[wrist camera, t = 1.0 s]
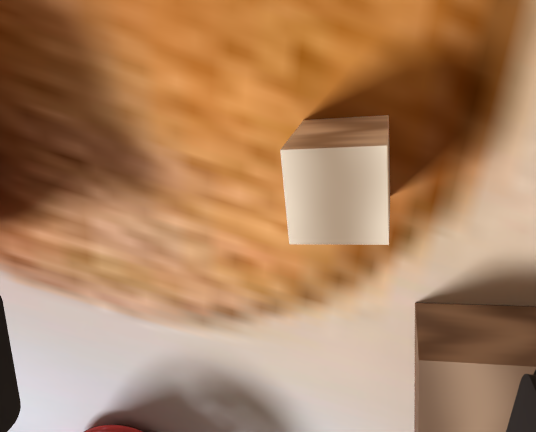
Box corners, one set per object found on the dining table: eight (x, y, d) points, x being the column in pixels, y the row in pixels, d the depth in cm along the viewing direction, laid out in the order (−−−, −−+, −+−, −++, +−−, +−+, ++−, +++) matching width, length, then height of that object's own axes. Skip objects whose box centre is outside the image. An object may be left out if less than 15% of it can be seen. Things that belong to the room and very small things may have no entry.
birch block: (388, 115, 30) (387, 145, 23) (390, 196, 31) (388, 244, 25) (303, 119, 31) (280, 149, 25) (309, 197, 33) (289, 244, 26)
